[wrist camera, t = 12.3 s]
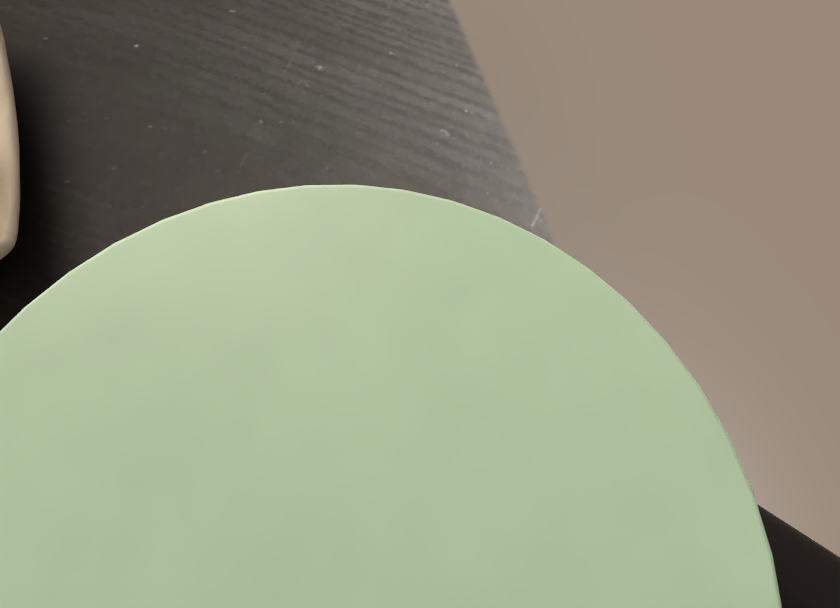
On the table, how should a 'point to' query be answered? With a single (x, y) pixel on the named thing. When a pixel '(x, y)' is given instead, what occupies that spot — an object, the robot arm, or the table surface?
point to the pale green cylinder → (359, 424)
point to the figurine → (8, 158)
